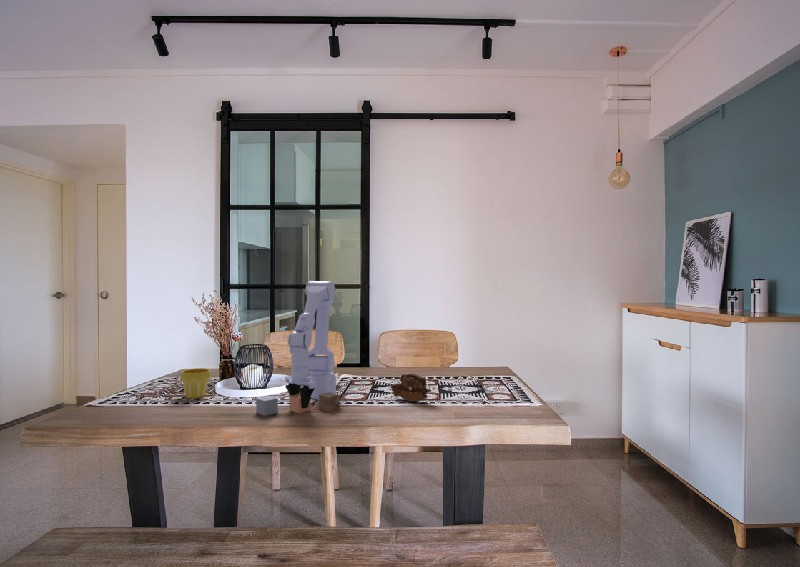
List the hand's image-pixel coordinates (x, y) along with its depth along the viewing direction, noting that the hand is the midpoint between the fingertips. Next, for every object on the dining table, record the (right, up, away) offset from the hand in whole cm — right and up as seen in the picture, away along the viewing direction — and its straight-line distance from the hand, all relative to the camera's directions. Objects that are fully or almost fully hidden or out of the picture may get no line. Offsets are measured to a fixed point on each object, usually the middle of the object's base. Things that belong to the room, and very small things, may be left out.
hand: (300, 406), depth 156 cm
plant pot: (-44, -1, +18) cm, 47 cm away
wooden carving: (+38, -2, +12) cm, 40 cm away
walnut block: (+10, -2, +2) cm, 10 cm away
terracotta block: (0, -1, 0) cm, 1 cm away
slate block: (-10, -2, -3) cm, 11 cm away
